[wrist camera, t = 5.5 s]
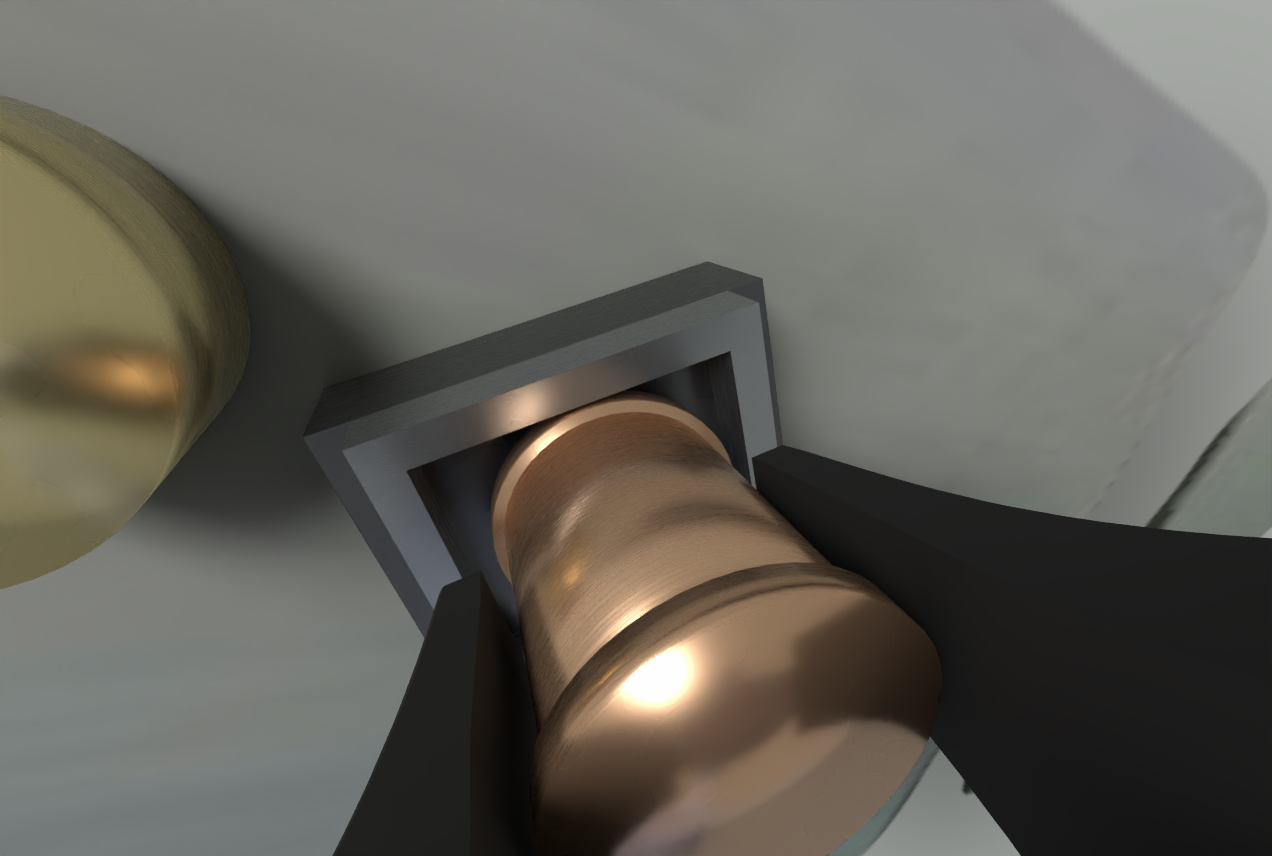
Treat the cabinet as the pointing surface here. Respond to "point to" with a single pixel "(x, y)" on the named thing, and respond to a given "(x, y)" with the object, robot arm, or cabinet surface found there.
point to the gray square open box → (533, 415)
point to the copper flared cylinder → (694, 649)
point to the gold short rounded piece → (100, 336)
